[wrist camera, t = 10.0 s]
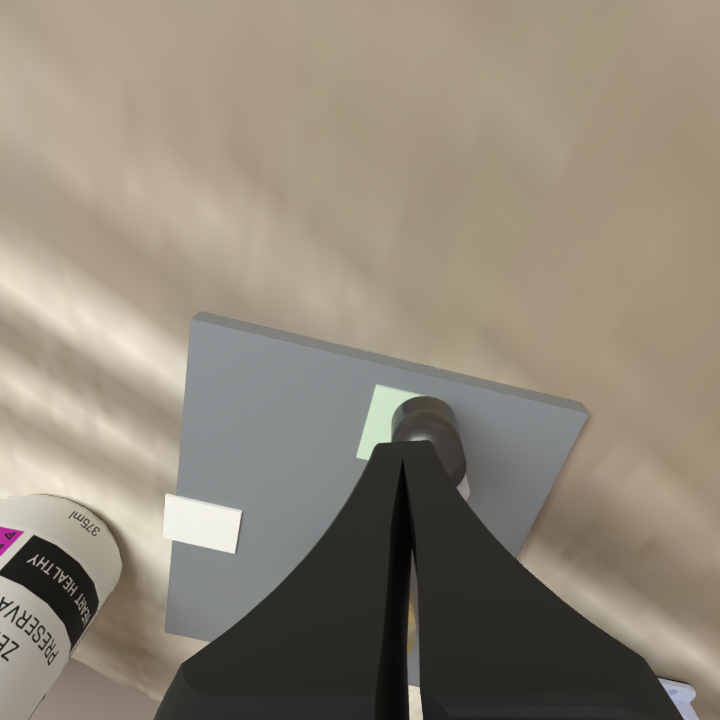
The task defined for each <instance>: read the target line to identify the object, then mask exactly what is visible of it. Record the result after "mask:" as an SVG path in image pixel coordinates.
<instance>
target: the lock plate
mask: <svg viewBox="0 0 720 720" xmlns="http://www.w3.org/2000/svg"><path fill="white" fill-rule="evenodd" d="M418 396H431V397H435V398H438V399H440V400H442V401H444V402H445V403H447V404H448V405H449V406H450V407H451V408H452V410H453V411H454V413H455V416H456V420H457V424H458V428H459V433H460V437H461V442H462V446H463V450H464V455H465V459H466V473H465V476H464V478H463V480H462V482H461V483H460V484H459V485H458V486H457V487H456V488H457V489H458V491H459V492H460V494H461V495H462V497H463V498H464V499H465V501H466V502H467V503H468V505H469V506H470V508H471V509H472V510H473V511H474V513H475V514H476V515H477V516H478V518H479V519H480V520H481V521H482V523H483V524H484V525H485V526H486V527H487V529H488V530H489V531H490V532H491V533H492V534H493V535H494V537H495V538H496V539H497V540H498V541H499V542H500V543H501V544H502V545H503V546H504V547H505V548H506V549H507V551H508V552H510V553H511V554H512V555H513V556H514V557H515V558H516V557H517V555H518V553H519V551H520V549H521V547H522V545H523V543H524V541H525V539H526V537H527V535H528V533H529V531H530V529H531V527H532V525H533V523H534V521H535V519H536V517H537V515H538V513H539V511H540V509H541V508H542V506H543V504H544V502H545V500H546V498H547V496H548V494H549V492H550V490H551V488H552V486H553V484H554V482H555V480H556V478H557V476H558V474H559V472H560V470H561V468H562V466H563V464H564V462H565V460H566V458H567V456H568V454H569V452H570V450H571V448H572V446H573V445H574V443H575V441H576V439H577V437H578V435H579V433H580V431H581V429H582V427H583V425H584V423H585V421H586V419H587V417H588V415H589V413H588V412H587V410H586V409H585V408H584V406H583V405H582V404H581V403H580V402H575V401H571V400H567V399H563V398H559V397H555V396H550V395H546V394H542V393H538V392H534V391H529V390H525V389H521V388H517V387H513V386H509V385H504V384H500V383H496V382H492V381H488V380H483V379H479V378H475V377H471V376H467V375H463V374H458V373H454V372H450V371H446V370H442V369H437V368H433V367H429V366H425V365H421V364H417V363H412V362H408V361H404V360H400V359H396V358H392V357H387V356H383V355H379V354H375V353H371V352H366V351H362V350H358V349H354V348H350V347H346V346H341V345H337V344H333V343H329V342H325V341H320V340H316V339H312V338H308V337H304V336H300V335H295V334H291V333H287V332H283V331H279V330H275V329H270V328H266V327H262V326H258V325H254V324H249V323H245V322H241V321H237V320H233V319H229V318H224V317H220V316H216V315H212V314H208V313H203V312H199V313H197V314H196V315H195V316H194V317H193V318H191V324H190V336H189V348H188V360H187V372H186V384H185V396H184V408H183V420H182V432H181V445H180V457H179V469H178V481H177V493H176V495H172V494H166V495H165V509H164V523H163V537H162V538H166V539H170V540H173V541H172V553H171V566H170V578H169V590H168V602H167V614H166V626H165V632H167V633H172V634H177V635H181V636H186V637H190V638H195V639H200V640H204V641H209V642H212V641H214V640H215V639H216V638H218V637H219V636H220V635H222V634H223V633H224V632H226V631H227V630H228V629H230V628H231V627H232V626H233V625H235V624H236V623H237V622H238V621H240V620H241V619H242V618H243V617H244V616H245V615H247V614H248V613H249V612H250V611H251V610H252V609H253V608H254V607H255V606H257V605H258V604H259V603H260V602H261V601H262V600H263V599H264V598H265V597H267V596H268V595H269V594H270V593H271V592H272V591H273V590H274V589H275V588H276V587H277V586H278V585H279V584H280V583H281V582H282V581H283V580H284V579H285V578H286V577H287V576H288V575H289V574H290V573H291V572H292V571H293V570H294V568H295V567H296V566H297V565H298V564H299V563H300V562H301V561H302V560H303V559H304V558H305V556H306V555H307V554H308V553H309V552H310V550H311V549H312V548H313V547H314V546H315V544H316V543H317V542H318V541H319V539H320V538H321V537H322V536H323V534H324V533H325V532H326V530H327V529H328V528H329V526H330V525H331V523H332V522H333V520H334V519H335V517H336V516H337V514H338V513H339V511H340V510H341V509H342V507H343V506H344V504H345V503H346V501H347V499H348V498H349V496H350V494H351V493H352V491H353V489H354V487H355V486H356V484H357V482H358V480H359V479H360V477H361V475H362V473H363V471H364V469H365V467H366V465H367V463H368V461H369V459H370V456H371V454H372V451H373V449H374V447H375V446H376V445H377V444H378V443H387V442H391V421H392V417H393V414H394V412H395V410H396V409H397V408H398V407H399V406H400V405H401V404H402V403H403V402H405V401H406V400H408V399H411V398H414V397H418ZM410 588H411V590H412V592H413V595H414V601H415V624H416V639H415V644H414V646H413V649H412V650H411V652H410V653H409V655H408V656H407V668H408V685H412V686H416V687H420V669H419V621H418V586H417V577H416V570H415V564H414V557H413V550H412V558H411V578H410Z"/></svg>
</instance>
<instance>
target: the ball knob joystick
mask: <svg viewBox="0 0 720 720" xmlns="http://www.w3.org/2000/svg"><path fill="white" fill-rule="evenodd" d="M418 440H429V441H431V442H432V443H433V444H434V448H435V450H436V453H437V455H438V457H439V459H440V461H441V463H442V465H443V467H444V468H445V470H446V472H447V474H448V475H449V477H450V479H451V480H452V482H453V483H454V485H455V486H456V487H457V486H458V485H459V484H460V483H461V482H462V480H463V478H464V476H465V473H466V459H465V455H464V450H463V446H462V442H461V437H460V433H459V428H458V424H457V420H456V416H455V413H454V411H453V410H452V408H451V407H450V406H449V405H448V404H447V403H445V402H444V401H442V400H440V399H438V398H435V397H431V396H418V397H414V398H411V399H408V400H406V401H405V402H403V403H402V404H401V405H400V406H399V407H398V408H397V409H396V410H395V412H394V414H393V417H392V421H391V442H402V441H418ZM415 639H416V624H415V601H414V595H413V592H412V590H411V588H410V598H409V617H408V637H407V656H408V655H409V653H410V652H411V650H412V649H413V646H414V644H415Z"/></svg>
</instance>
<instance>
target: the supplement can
mask: <svg viewBox="0 0 720 720" xmlns="http://www.w3.org/2000/svg"><path fill="white" fill-rule="evenodd" d="M122 566H123V565H122V561H121V557H120V553H119V549H118V546H117V544H116V540H115V538H114V536H113V535H112V533H111V532H110V530H109V529H108V527H107V526H106V524H105V523H104V522H103V521H102V520H100V519H99V518H98V517H97V516H95V515H94V514H93V513H92V512H91V511H89V510H88V509H87V508H84V507H82V506H80V505H78V504H76V503H74V502H72V501H70V500H68V499H64V498H59V497H54V496H50V495H22V496H10V497H8V498H6V499H4V500H2V501H0V720H30V719H31V718H32V716H33V715H34V713H35V712H36V710H37V709H38V707H39V705H40V704H41V702H42V701H43V699H44V698H45V696H46V694H47V693H48V691H49V690H50V688H51V687H52V685H53V684H54V682H55V680H56V679H57V677H58V676H59V674H60V673H61V671H62V669H63V668H64V666H65V665H66V663H67V662H68V660H69V659H70V657H71V655H72V654H73V652H74V651H75V649H76V648H77V646H78V644H79V643H80V641H81V640H82V638H83V637H84V635H85V633H86V632H87V630H88V629H89V627H90V626H91V624H92V623H93V621H94V619H95V618H96V616H97V615H98V613H99V612H100V610H101V608H102V607H103V605H104V604H105V602H106V601H107V599H108V598H109V596H110V594H111V593H112V591H113V590H114V588H115V587H116V585H117V583H118V582H119V578H120V574H121V570H122Z"/></svg>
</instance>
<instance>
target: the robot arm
mask: <svg viewBox="0 0 720 720" xmlns="http://www.w3.org/2000/svg"><path fill="white" fill-rule="evenodd" d="M412 550H413V557H414V564H415V570H416V577H417V586H418V621H419V669H420V694H421V703H422V712H423V720H699V719H698V717H697V715H696V713H695V711H694V709H693V707H692V705H691V704H690V702H691V701H692V700H693V699H694V698H695V696H696V692H695V690H694V688H693V687H692V686H690V685H688V684H683V683H679V682H674V681H670V680H665V679H661V678H657V677H656V675H655V674H654V672H653V671H652V669H651V668H650V666H649V665H648V663H647V662H646V661H645V659H644V658H643V657H641V656H640V655H638V654H637V653H635V652H634V651H632V650H631V649H629V648H628V647H626V646H625V645H623V644H622V643H621V642H619V641H618V640H616V639H615V638H613V637H612V636H610V635H609V634H607V633H606V632H604V631H603V630H601V629H600V628H598V627H597V626H595V625H594V624H592V623H591V622H589V621H588V620H587V619H586V618H584V617H583V616H582V615H580V614H579V613H578V612H577V611H575V610H574V609H573V608H571V607H570V606H569V605H568V604H566V603H565V602H564V601H562V600H561V599H560V598H559V597H558V596H557V595H556V594H554V593H553V592H552V591H551V590H550V589H549V588H548V587H546V586H545V585H544V584H543V583H542V582H541V581H539V580H538V579H537V578H536V577H535V576H534V575H533V574H531V573H530V572H529V571H528V570H527V569H526V568H525V567H524V566H523V565H522V564H521V563H520V562H519V561H518V560H517V559H516V558H515V557H514V556H513V555H512V554H511V553H510V552H508V551H507V549H506V548H505V547H504V546H503V545H502V544H501V543H500V542H499V541H498V540H497V539H496V538H495V537H494V535H493V534H492V533H491V532H490V531H489V530H488V529H487V527H486V526H485V525H484V524H483V523H482V521H481V520H480V519H479V518H478V516H477V515H476V514H475V513H474V511H473V510H472V509H471V508H470V506H469V505H468V503H467V502H466V501H465V499H464V498H463V497H462V495H461V494H460V492H459V491H458V489H457V488H456V486H455V485H454V483H453V482H452V480H451V479H450V477H449V475H448V474H447V472H446V470H445V468H444V467H443V465H442V463H441V461H440V459H439V457H438V455H437V453H436V450H435V448H434V444H433V443H432V442H431V441H429V440H418V441H402V442H387V443H378V444H377V445H376V446H375V447H374V449H373V451H372V454H371V456H370V459H369V461H368V463H367V465H366V467H365V469H364V471H363V473H362V475H361V477H360V479H359V480H358V482H357V484H356V486H355V487H354V489H353V491H352V493H351V494H350V496H349V498H348V499H347V501H346V503H345V504H344V506H343V507H342V509H341V510H340V511H339V513H338V514H337V516H336V517H335V519H334V520H333V522H332V523H331V525H330V526H329V528H328V529H327V530H326V532H325V533H324V534H323V536H322V537H321V538H320V539H319V541H318V542H317V543H316V544H315V546H314V547H313V548H312V549H311V550H310V552H309V553H308V554H307V555H306V556H305V558H304V559H303V560H302V561H301V562H300V563H299V564H298V565H297V566H296V567H295V568H294V570H293V571H292V572H291V573H290V574H289V575H288V576H287V577H286V578H285V579H284V580H283V581H282V582H281V583H280V584H279V585H278V586H277V587H276V588H275V589H274V590H273V591H272V592H271V593H270V594H269V595H268V596H267V597H265V598H264V599H263V600H262V601H261V602H260V603H259V604H258V605H257V606H255V607H254V608H253V609H252V610H251V611H250V612H249V613H248V614H247V615H245V616H244V617H243V618H242V619H241V620H240V621H238V622H237V623H236V624H235V625H233V626H232V627H231V628H230V629H228V630H227V631H226V632H224V633H223V634H222V635H220V636H219V637H218V638H216V639H215V640H214V641H212V642H211V643H210V644H208V645H207V646H206V647H204V648H203V649H202V650H200V651H199V652H197V653H196V654H195V655H193V656H192V657H191V658H189V659H188V660H186V661H185V662H183V663H182V664H181V666H180V668H179V670H178V672H177V674H176V676H175V678H174V680H173V681H172V683H171V685H170V687H169V688H168V690H167V692H166V694H165V696H164V698H163V700H162V702H161V704H160V706H159V708H158V710H157V713H156V715H155V718H154V720H409V696H408V668H407V637H408V617H409V598H410V578H411V558H412Z"/></svg>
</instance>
